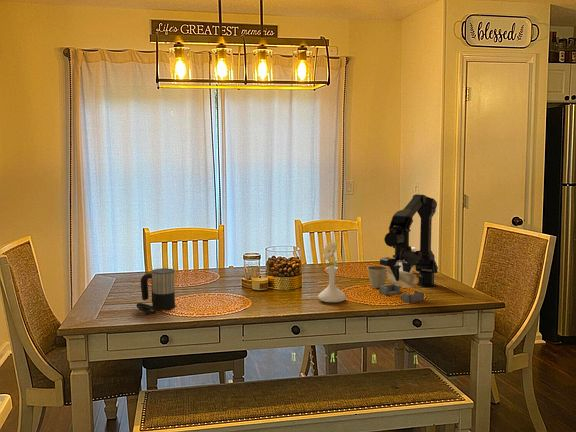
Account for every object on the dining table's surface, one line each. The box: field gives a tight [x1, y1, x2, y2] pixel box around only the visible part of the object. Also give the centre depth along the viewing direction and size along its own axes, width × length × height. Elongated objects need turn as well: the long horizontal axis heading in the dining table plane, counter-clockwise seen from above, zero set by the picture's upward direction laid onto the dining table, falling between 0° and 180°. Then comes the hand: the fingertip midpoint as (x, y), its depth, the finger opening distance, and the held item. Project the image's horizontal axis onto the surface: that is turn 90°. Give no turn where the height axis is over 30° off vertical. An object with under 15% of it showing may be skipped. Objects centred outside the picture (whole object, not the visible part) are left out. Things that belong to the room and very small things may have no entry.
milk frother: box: [135, 267, 177, 314], centre depth 218 cm, size 14×16×15 cm
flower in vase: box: [317, 241, 347, 303], centre depth 227 cm, size 13×11×25 cm
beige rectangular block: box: [386, 268, 417, 289], centre depth 235 cm, size 4×14×5 cm, turn 26°
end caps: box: [379, 283, 425, 304], centre depth 235 cm, size 8×19×3 cm, turn 29°
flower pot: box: [366, 265, 389, 289], centre depth 254 cm, size 9×9×9 cm
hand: (401, 280), depth 235 cm, fingers closed on beige rectangular block, 4 cm apart
